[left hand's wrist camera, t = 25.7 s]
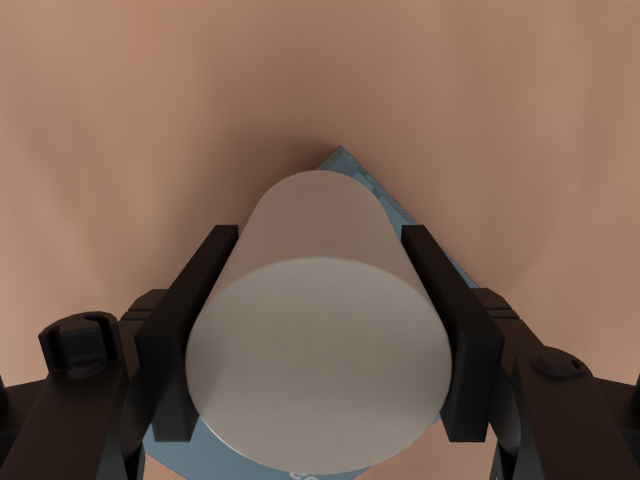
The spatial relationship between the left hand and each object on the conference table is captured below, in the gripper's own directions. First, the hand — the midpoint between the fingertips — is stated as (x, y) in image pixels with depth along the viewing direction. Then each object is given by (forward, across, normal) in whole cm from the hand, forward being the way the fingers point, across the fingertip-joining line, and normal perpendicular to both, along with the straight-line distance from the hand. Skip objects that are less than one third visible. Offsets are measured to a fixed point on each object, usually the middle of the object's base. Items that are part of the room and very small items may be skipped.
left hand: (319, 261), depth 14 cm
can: (+2, 0, 0) cm, 2 cm away
